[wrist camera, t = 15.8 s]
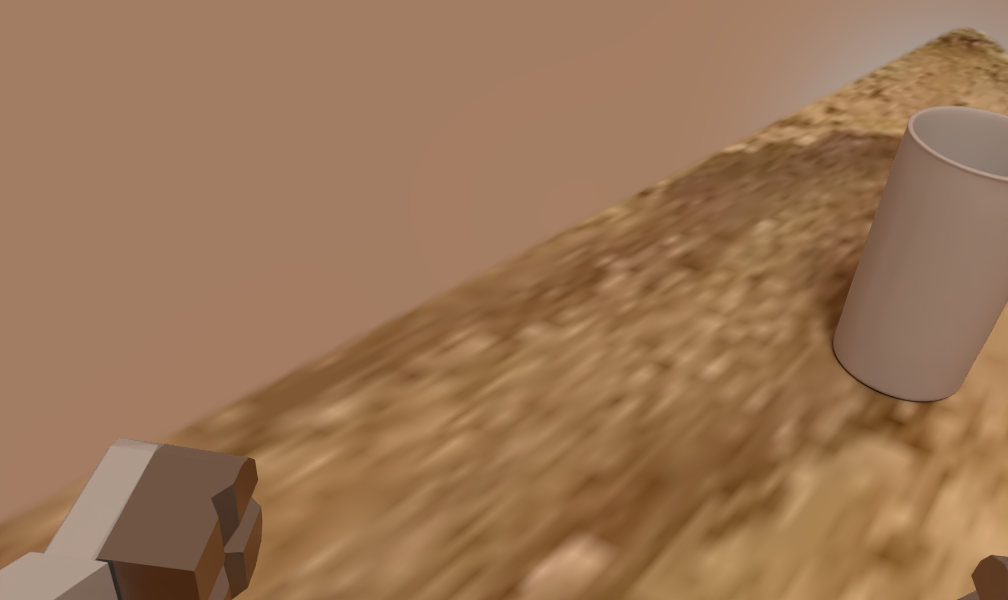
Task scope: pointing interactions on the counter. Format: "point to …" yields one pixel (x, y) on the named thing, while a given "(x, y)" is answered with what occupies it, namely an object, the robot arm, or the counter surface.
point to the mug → (932, 258)
